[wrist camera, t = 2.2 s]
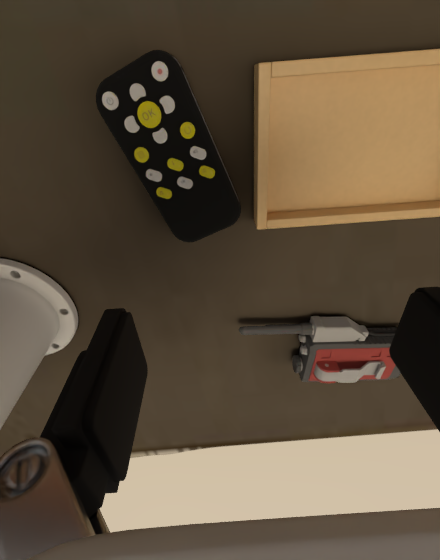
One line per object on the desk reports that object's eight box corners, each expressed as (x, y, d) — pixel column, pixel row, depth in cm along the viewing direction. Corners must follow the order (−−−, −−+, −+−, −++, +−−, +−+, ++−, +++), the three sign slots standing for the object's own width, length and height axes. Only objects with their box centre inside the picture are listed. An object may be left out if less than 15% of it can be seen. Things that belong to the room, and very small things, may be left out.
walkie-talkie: (417, 310, 32) (238, 314, 32) (443, 340, 29) (242, 344, 28) (390, 362, 37) (236, 366, 37) (410, 393, 34) (238, 397, 33)
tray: (253, 219, 26) (256, 230, 24) (254, 64, 19) (258, 62, 18) (448, 206, 26) (465, 215, 24) (512, 44, 19) (542, 40, 17)
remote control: (182, 240, 27) (180, 251, 25) (92, 89, 20) (82, 90, 18) (245, 212, 25) (247, 222, 24) (171, 41, 19) (167, 38, 17)
